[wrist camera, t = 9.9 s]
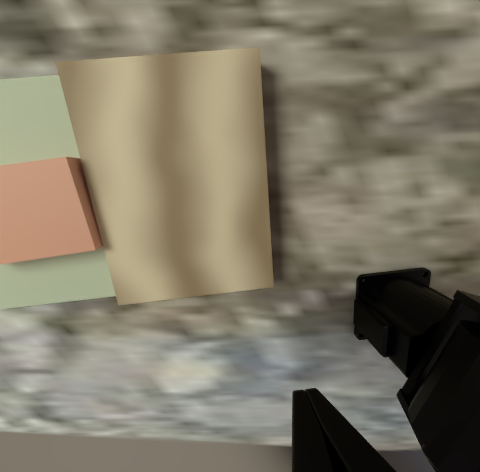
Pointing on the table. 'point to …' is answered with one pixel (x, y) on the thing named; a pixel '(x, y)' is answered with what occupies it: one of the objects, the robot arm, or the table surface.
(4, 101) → the sage mat
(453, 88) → the table surface
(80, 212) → the coral tile
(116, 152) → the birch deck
